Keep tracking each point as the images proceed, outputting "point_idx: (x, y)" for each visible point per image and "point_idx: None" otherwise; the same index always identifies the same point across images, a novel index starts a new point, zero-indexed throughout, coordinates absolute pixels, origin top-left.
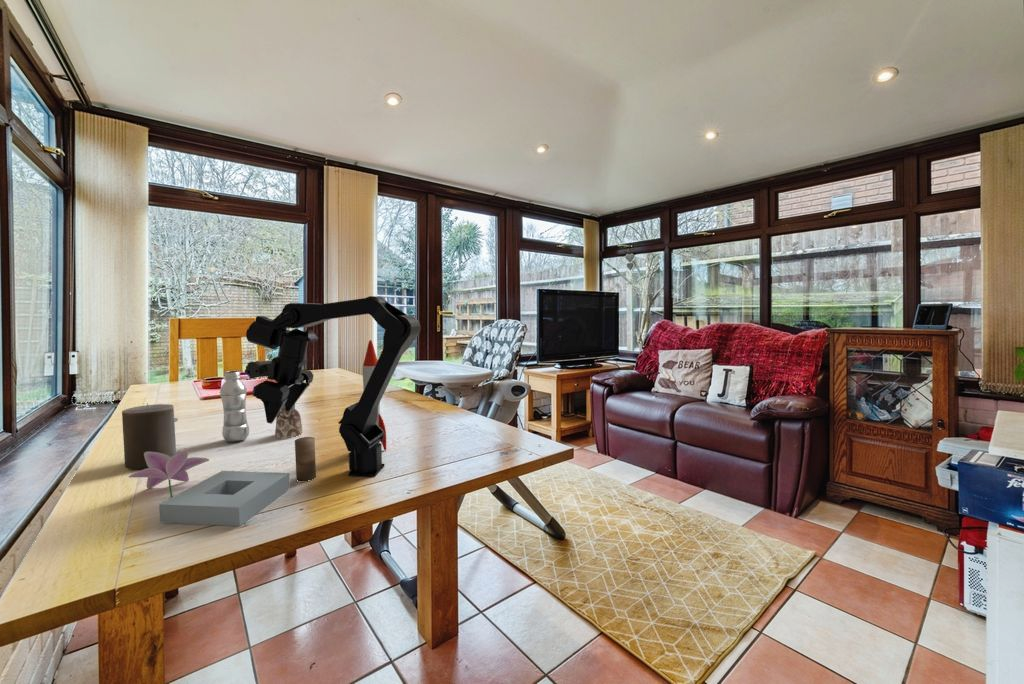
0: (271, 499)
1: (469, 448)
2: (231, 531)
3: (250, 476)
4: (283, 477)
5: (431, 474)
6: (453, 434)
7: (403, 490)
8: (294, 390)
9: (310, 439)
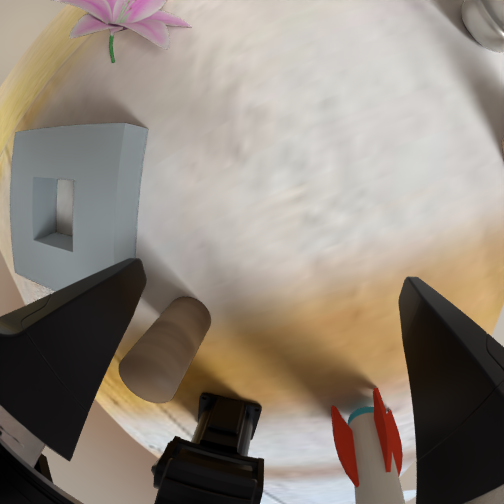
0: None
1: (315, 499)
2: None
3: (90, 228)
4: None
5: None
6: None
7: (157, 444)
8: (451, 448)
9: (150, 394)
